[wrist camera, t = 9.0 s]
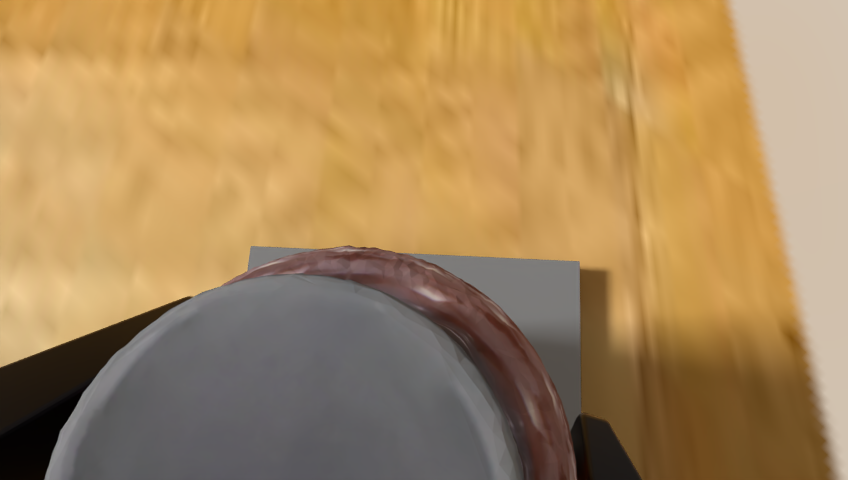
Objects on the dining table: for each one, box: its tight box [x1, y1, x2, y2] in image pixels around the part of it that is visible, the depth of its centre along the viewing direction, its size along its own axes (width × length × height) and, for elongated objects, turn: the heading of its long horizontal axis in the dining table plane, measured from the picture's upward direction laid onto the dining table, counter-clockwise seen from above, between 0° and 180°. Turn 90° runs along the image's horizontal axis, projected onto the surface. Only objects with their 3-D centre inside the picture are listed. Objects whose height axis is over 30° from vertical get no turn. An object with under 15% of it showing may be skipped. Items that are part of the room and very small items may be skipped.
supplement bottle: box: [44, 246, 578, 480], centre depth 10 cm, size 6×6×11 cm
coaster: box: [248, 246, 581, 431], centre depth 17 cm, size 10×10×1 cm
